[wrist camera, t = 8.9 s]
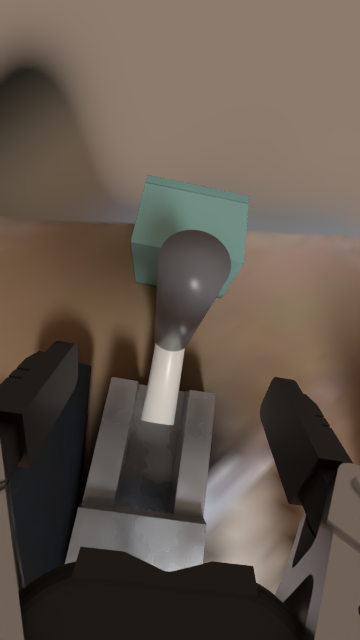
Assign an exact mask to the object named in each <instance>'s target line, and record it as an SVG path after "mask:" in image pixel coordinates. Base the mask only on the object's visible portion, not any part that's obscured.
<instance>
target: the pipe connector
mask: <svg viewBox="0 0 360 640" xmlns="http://www.w3.org/2000/svg"><path fill="white" fill-rule="evenodd" d="M90 374H91V366H89V365H86V364H81V363H78V379H77V383H76V386H75V389H74V391H73V393H72V394H71V396H70V398H69V400H68V401H67V403H66V405H65V407H64V408H63V410H62V412H61V414H60V415H59V417H58V419H57V421H56V422H55V424H54V426H53V428H52V429H51V431H50V433H49V435H48V437H47V438H46V440H45V442H44V444H43V445H42V447H41V449H40V451H39V452H38V454H37V456H36V458H35V459H34V461H33V463H32V465H31V466H30V468H23V467H16V469H15V470H14V472H13V473H12V475H11V477H10V478H9V483H10V490H11V497H12V504H13V511H14V519H15V526H16V533H17V540H18V546H19V553H20V559H21V565H22V571H23V578H24V585H25V587H26V586H27V585H28V584H30V583H31V582H32V581H34V580H35V579H37V578H38V577H40V576H41V575H43V574H45V573H47V572H48V571H50V570H52V569H54V568H56V567H59V566H62V565H64V564H65V561H66V557H67V552H68V548H69V544H70V540H71V536H72V531H73V527H74V523H75V519H76V515H77V506H78V496H79V486H80V476H81V466H82V455H83V445H84V435H85V425H86V414H87V404H88V394H89V384H90Z"/></svg>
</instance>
